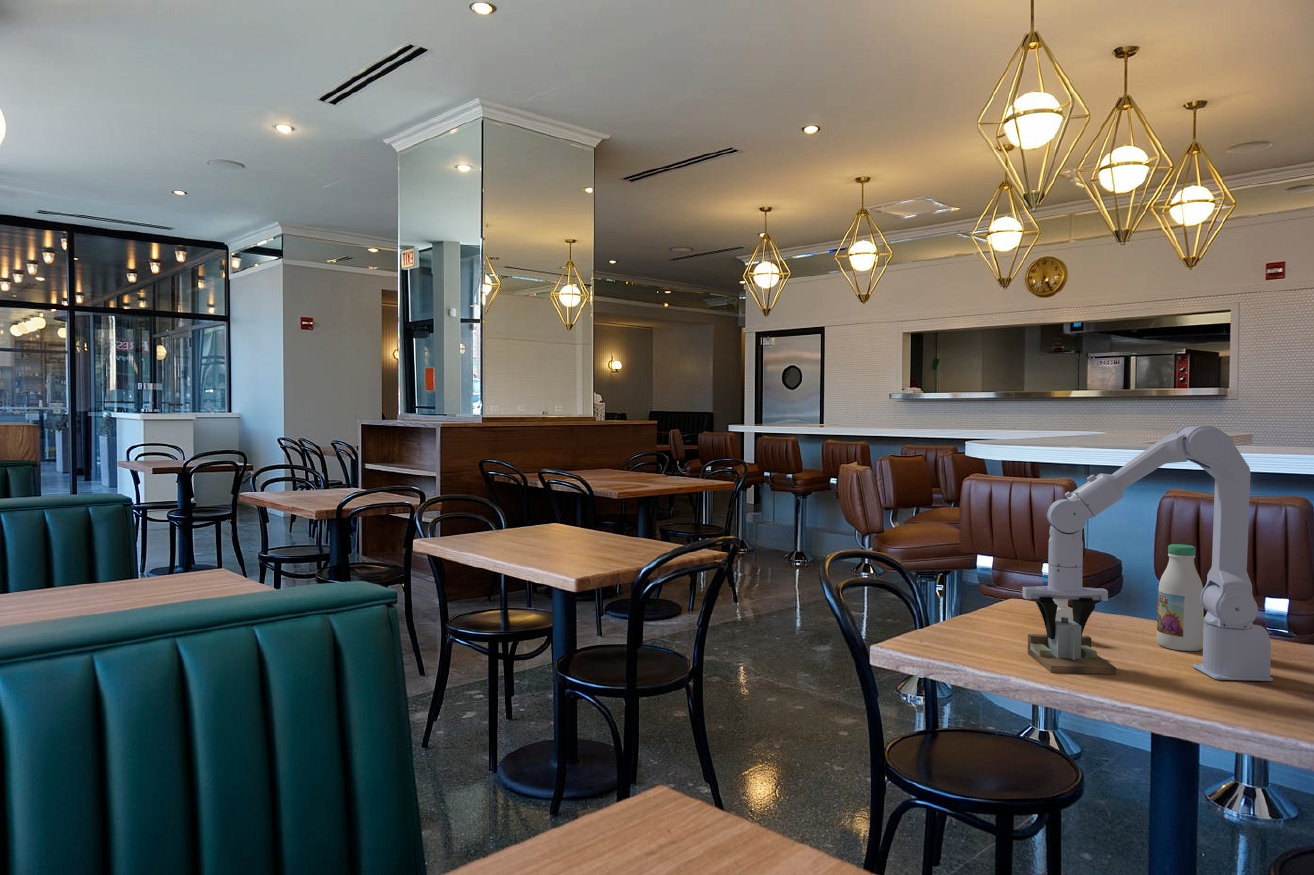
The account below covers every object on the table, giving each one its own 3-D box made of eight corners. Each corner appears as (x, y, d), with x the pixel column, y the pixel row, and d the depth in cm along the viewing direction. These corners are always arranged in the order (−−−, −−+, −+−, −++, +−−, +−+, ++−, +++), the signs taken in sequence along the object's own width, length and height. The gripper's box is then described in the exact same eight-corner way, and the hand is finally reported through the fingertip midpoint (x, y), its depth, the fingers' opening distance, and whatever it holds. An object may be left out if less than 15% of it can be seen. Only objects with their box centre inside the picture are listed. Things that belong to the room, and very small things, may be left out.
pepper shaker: (1073, 640, 173) (1074, 593, 173) (1053, 639, 173) (1054, 593, 173) (1064, 634, 177) (1065, 589, 177) (1044, 634, 177) (1045, 589, 177)
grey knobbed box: (1070, 650, 161) (1070, 614, 160) (1086, 662, 153) (1086, 624, 153) (1047, 650, 161) (1048, 614, 161) (1062, 661, 154) (1063, 624, 153)
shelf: (1087, 655, 162) (1088, 635, 162) (1115, 674, 150) (1116, 653, 150) (1027, 653, 163) (1028, 634, 163) (1050, 672, 151) (1051, 651, 151)
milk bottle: (1190, 642, 172) (1192, 542, 171) (1210, 652, 164) (1213, 548, 164) (1149, 641, 173) (1151, 542, 172) (1168, 651, 165) (1170, 548, 164)
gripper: (1097, 562, 161) (1095, 633, 162) (1017, 560, 163) (1016, 631, 163) (1113, 568, 154) (1112, 643, 155) (1030, 567, 156) (1029, 641, 156)
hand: (1063, 638), depth 158 cm, fingers closed on grey knobbed box, 4 cm apart
